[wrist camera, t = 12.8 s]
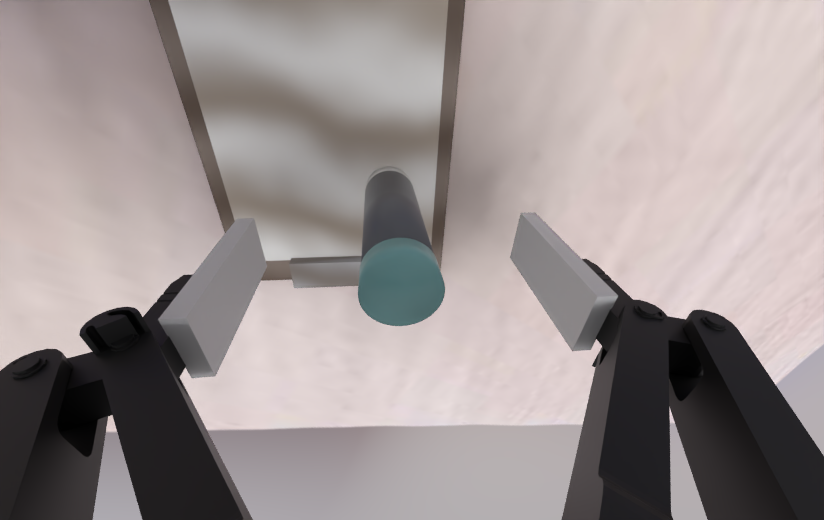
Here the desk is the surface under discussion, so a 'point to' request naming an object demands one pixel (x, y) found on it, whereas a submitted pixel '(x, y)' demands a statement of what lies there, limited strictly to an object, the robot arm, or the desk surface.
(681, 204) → the desk surface
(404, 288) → the marker
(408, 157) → the clipboard
